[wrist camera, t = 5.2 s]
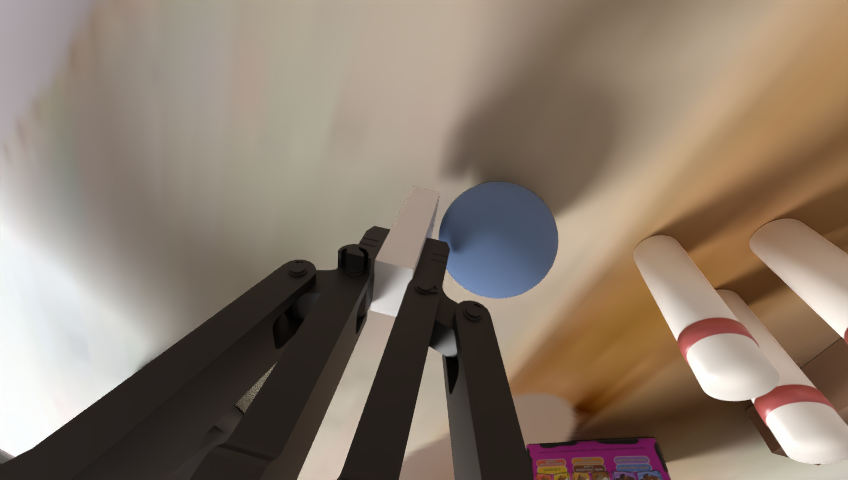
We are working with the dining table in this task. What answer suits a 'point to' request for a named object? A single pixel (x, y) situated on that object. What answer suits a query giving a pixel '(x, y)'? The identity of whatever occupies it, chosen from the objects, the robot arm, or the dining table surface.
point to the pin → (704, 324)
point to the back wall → (831, 374)
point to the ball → (499, 239)
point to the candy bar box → (598, 460)
